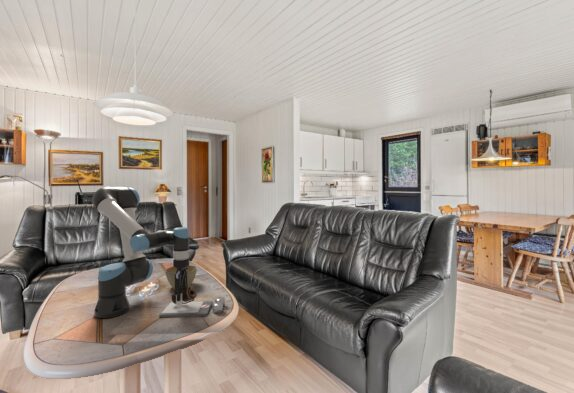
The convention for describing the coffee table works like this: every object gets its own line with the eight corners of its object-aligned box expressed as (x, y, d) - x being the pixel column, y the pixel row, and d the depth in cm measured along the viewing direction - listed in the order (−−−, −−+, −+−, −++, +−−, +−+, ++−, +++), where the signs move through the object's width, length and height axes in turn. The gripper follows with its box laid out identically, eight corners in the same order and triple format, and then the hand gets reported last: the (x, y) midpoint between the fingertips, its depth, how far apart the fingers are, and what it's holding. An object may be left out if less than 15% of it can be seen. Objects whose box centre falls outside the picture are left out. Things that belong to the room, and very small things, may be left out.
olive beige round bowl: (178, 295, 159) (178, 274, 159) (159, 289, 168) (159, 269, 168) (202, 286, 174) (202, 267, 174) (184, 281, 184) (184, 263, 184)
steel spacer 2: (211, 314, 135) (211, 306, 135) (213, 309, 140) (213, 302, 140) (222, 313, 135) (222, 305, 135) (223, 309, 140) (223, 301, 140)
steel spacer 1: (214, 308, 141) (214, 300, 141) (215, 304, 146) (215, 297, 146) (224, 308, 142) (224, 300, 142) (225, 304, 147) (225, 296, 146)
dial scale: (159, 317, 131) (159, 313, 131) (170, 304, 146) (170, 301, 146) (206, 315, 133) (206, 312, 133) (212, 303, 148) (212, 300, 148)
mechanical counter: (193, 308, 136) (193, 287, 135) (167, 308, 135) (167, 288, 135) (197, 302, 143) (197, 283, 143) (172, 303, 142) (172, 283, 142)
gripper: (183, 263, 130) (183, 312, 130) (193, 254, 149) (194, 296, 149) (166, 263, 129) (166, 312, 129) (179, 254, 148) (179, 297, 148)
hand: (181, 304), depth 139 cm, fingers closed on mechanical counter, 6 cm apart
